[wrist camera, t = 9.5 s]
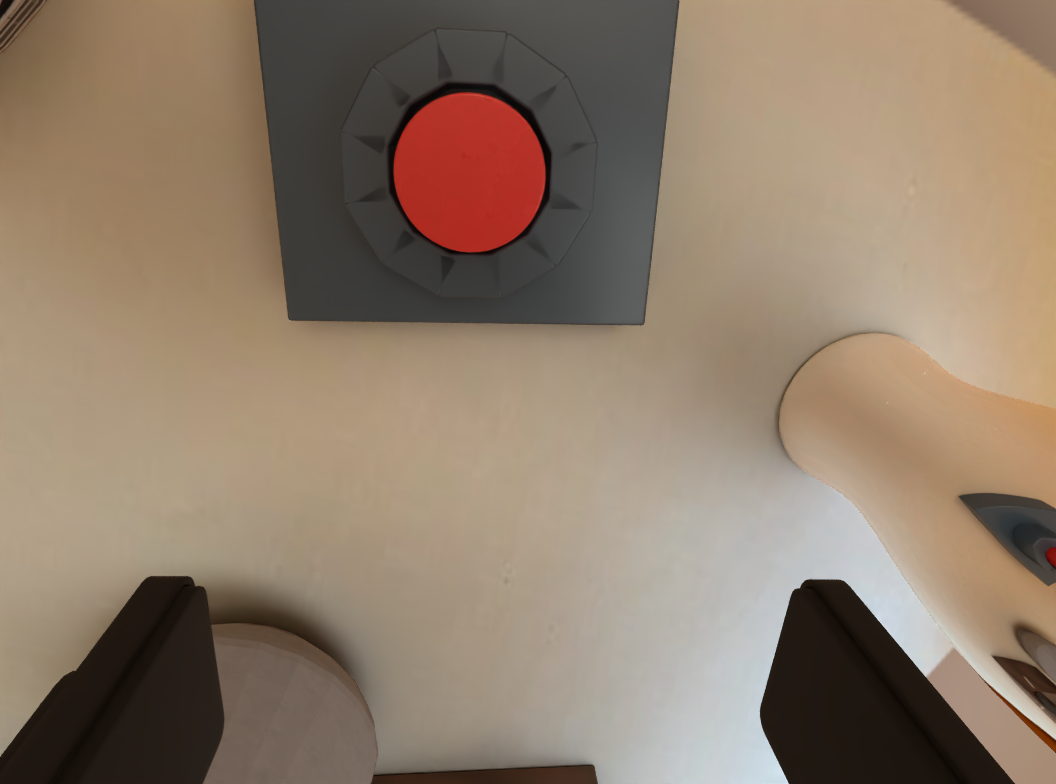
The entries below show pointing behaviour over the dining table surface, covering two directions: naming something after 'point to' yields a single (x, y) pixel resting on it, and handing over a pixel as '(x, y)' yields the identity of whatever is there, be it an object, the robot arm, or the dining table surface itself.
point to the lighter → (15, 18)
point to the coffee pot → (288, 712)
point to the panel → (498, 777)
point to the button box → (447, 68)
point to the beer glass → (945, 500)
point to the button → (469, 172)
